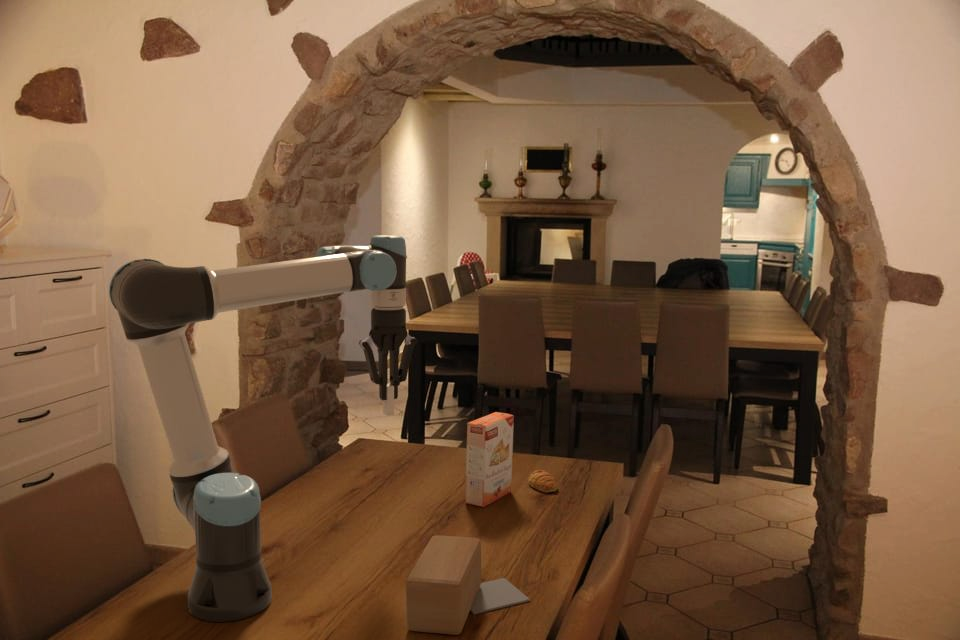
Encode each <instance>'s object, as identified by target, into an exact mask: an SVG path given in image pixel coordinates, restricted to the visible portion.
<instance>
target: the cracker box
mask: <svg viewBox="0 0 960 640" xmlns="http://www.w3.org/2000/svg"><path fill="white" fill-rule="evenodd" d="M514 420H515V415H513V414H510V413H504V412H498V411H495V412H492V413H489V414H487V415H485V416H481V417H479V418H477V419H474V420H471V421H469V422H467V423H466V425H467V427H466V429H467V430H466V459H465V460H466V461H465V462H466V463H465V464H466V465H465V466H466V467H465V497H464V498H465V504H468V505H473V506H477V507H480V508H485V507H486V506H489V505H490V504H493V503H494V502H496V501H497V500H500V499H501V498H503V497H504V496H506V495H508V494H510V493H512V481H513V480H512V477H513V449H514V446H513V445H514Z"/></svg>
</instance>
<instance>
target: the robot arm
mask: <svg viewBox="0 0 960 640" xmlns="http://www.w3.org/2000/svg"><path fill="white" fill-rule="evenodd" d="M407 258H408V256H407V245H406V240H405V238H404V237H403V236H400V235H393V234H392V235H391V234H390V235H388V234H387V235H384V234H383V235H382V234H381V235H373V236H371V237H370V242H369V244H367V245H329V246H321V247H319V248H318V250H317V251H316V253H315V257H307V258H305V257H304V258H298V259H291V260H284V261H283V260H282V261H276V262H268V263H261V264H254V265H245V266H238V267H230V268H229V267H228V268H222V269H215V270H211V269H209V268H208V267H207V266H206V265H200V266H192V267H180V266H178V267H177V266H170V265H166V264H164V263H163V262H161V261H159V260H156V259H151V258H142V259H134V260H130V261H129V262H126V263H124V264H123V265H121V266H119V268H118V269H117V270H116V271H115V272H114V274H113V275H112V278H111V280H110V282H109V292H108V293H109V298H110V302H111V305H112V306H113V307H114V309H116V311H117V312H118V317H119V320H120V322H121V326H122V329H123V332H124V334H125V339H126V341H128V342H130V343H132V344H134V345H136V346H137V347H138V350H139V353H140V356H141V360H142V364H143V368H144V370H145V373H146V376H147V380H148V383H149V386H150V389H151V392H152V396H153V398H154V402H155V404H156V405H155V406H156V408H157V411H158V415H159V418H160V422H161V425H162V427H163V431H164V434H165V436H166V440H167V444H168V446H169V447H168V448H169V449H170V453H171V456H172V459H173V461H172V463H171V464H170V466H169V467H168V471H167V472H168V475H169V478H170V481H171V484H172V497H173V501H174V504H175V506H176V508H177V510H178V511H179V512H180V513H181V514H182V515H183V517H184V518H185V519H186V520H187V522H188V524H189V525H190V526H191V529H193V531H194V538H195V539H194V540H195V558H196V559H195V562H196V566H195V570H194V574H193V576H192V580H191V583H190V587H189V589H188V590H189V591H188V593H187V609H188V608H189V610H190V612H191V613H192V614H193V615H194V616H196V617H198V618H197V619H199V618H200V619H199V620H202V619H203V621H206V622H223V623H224V622H233V621H238V620H243V619H246V618H249V617H253V616H255V615H257V614H259V613H261V612H263V611H264V610H265V609H266V608H267V607H269V606H270V604H271V602H272V600H273V599H272V596H273V592H272V591H273V590H272V584H271V581H270V579H269V577H268V574H267V573H268V572H267V571H266V568H265V566H264V563H263V561H262V540H261V539H262V536H261V535H262V534H261V533H262V531H261V507H262V506H261V505H262V500H261V499H262V498H261V494H260V488H259V485H258V483H257V482H256V481H255V480H254V479H253V478H252V477H250V476H248V475H246V474H240V473H237V472H235V471H234V466H233V463H232V460H231V456H230V454H229V451H228V449H226V448H224V447H221V446H219V445H218V442H217V439H216V438H217V437H216V434H215V432H214V428H213V425H212V422H211V417H210V414H209V410H208V408H207V405H206V401H205V397H204V394H203V391H202V390H203V389H202V388H201V383H200V381H199V377H198V373H197V371H196V366H195V363H194V359H193V357H192V353H191V350H190V347H189V343H188V340H187V337H186V331H187V329H188V328H189V326H190V324H191V325H192V324H197V323H200V322H205V321H206V322H207V321H211V320H214V319H215V318H216V317H217V315H218V314H219V313H226V312H233V311H237V310H242V309H249V308H257V307H262V306H268V305H269V306H270V305H274V304H275V305H276V304H280V303H287V302H293V301H299V300H305V299H306V300H307V299H311V298H317V297H318V298H319V297H323V296H331V295H335V294H336V295H337V294H343V293H348V292H349V293H350V292H351V293H352V292H357V291H365V290H369V291H370V305H371V307H373V308H371V310H370V327H371V328H370V331H369V333H368V336H367V337H365V338H364V340H363V339H361V340H359V342H358V344H359V346H360V347H361V349H362V350H363V354H364V357H365V363H366V366H367V370H368V374H369V379H370V381H371V382H372V383H373V384H375V385H379V388H378V390H379V395H378V397H379V399H380V400H381V401H382V403H383V404H382V406H383V408H382V413H383V414H384V415H386V416H387V417H388V416H389V417H390V416H395V400H397V399H398V398H399V397H398V396H399V393H398V392H399V388H398V387H399V386H400V384H401V383H402V382H406V380H407V377H408V373H409V369H410V364H411V359H412V356H413V351H414V348H415V347H416V345H417V343H418V339H417V338H416V337H414V336H411V335H410V334H408V333H409V332H408V330H407V327H406V326H407V324H406V323H407V310H406V308H405V306H406V305H407V286H406V285H407V284H406V283H407V279H406V278H407ZM403 343H404V346H403V349H402V353H401V352H400V347H401V346H402V344H403ZM373 344H374V345H375V347H376V348H377V354H378V360H377V361H378V362H376V361H375V360H376V359H375V356H374V351H373V349H372V348H373ZM400 353H401V357H399V356H400ZM388 356H389V358H388ZM399 358H400V359H399ZM388 359H389V360H388ZM376 363H378V364H376ZM388 363H389V365H388ZM377 365H378V368H377ZM388 366H389V367H388ZM388 371H389V374H388ZM388 375H389V378H388ZM388 381H389V383H388ZM189 610H188V611H189ZM190 612H189V613H190ZM191 613H190V614H191ZM192 614H191V615H192ZM193 615H192V616H193ZM194 616H193V617H194ZM196 617H195V618H196Z"/></svg>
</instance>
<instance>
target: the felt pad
mask: <svg viewBox="0 0 960 640" xmlns="http://www.w3.org/2000/svg"><path fill="white" fill-rule="evenodd" d="M530 601H531V599H530V598H529V597H528V596H527V595H525V594H524V593H523V592H522V591H521V590H520V589H518V587H516V586H515V585H514V584H512V583H511V582H510V581H509V580H508V579H506V578H505V577H503V578H497V579H492V580H488V581H484V582H481V585H480V587H479V590H478V592H477V594H476V597H475V599H474V602H473V604H472V607H471V609H470V612H469V613H471V614H472V615H477V614H481V613H482V614H483V613H487V612H489V611H494V610H500V609H502V608H506V607H511V606H515V605H518V604H520V605H521V604H523V603H528V602H530Z"/></svg>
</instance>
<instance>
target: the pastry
mask: <svg viewBox="0 0 960 640" xmlns="http://www.w3.org/2000/svg"><path fill="white" fill-rule="evenodd" d="M527 481H528V484H529V485H530V487H531V488H532V487H533V488H532V489H534V488H535V489H534V490H536V489H537V490H536V491H538V492H541V491H542V492H541V493H547V494H548V493H551V492H557V490H558V488H559V486H558V482H557V480H556V478H555V477H554V475H553V474H551V473H550V472H546V471H545V470H543V469H537V470H535V471H533V472H531V474H529V476H528V478H527Z"/></svg>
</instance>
